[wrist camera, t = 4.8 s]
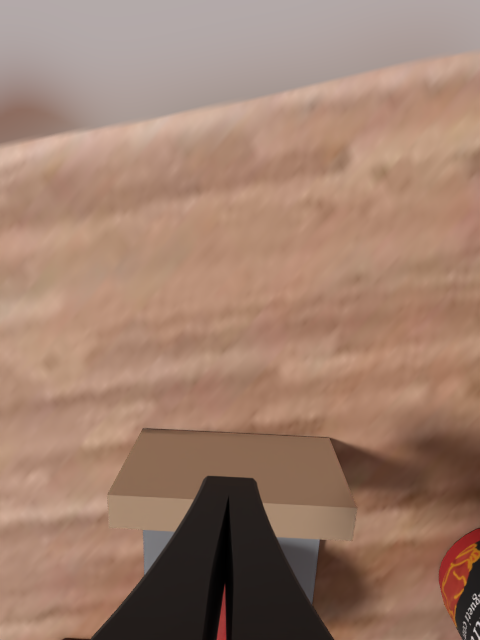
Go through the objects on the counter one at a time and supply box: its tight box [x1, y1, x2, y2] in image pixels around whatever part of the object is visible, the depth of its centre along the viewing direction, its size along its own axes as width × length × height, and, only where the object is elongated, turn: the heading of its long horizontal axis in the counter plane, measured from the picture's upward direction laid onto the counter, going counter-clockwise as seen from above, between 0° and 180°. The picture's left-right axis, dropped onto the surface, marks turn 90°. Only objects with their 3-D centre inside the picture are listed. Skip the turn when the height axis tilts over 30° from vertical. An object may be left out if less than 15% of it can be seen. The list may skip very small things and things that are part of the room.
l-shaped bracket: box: [107, 429, 357, 604], centre depth 18 cm, size 14×10×5 cm
